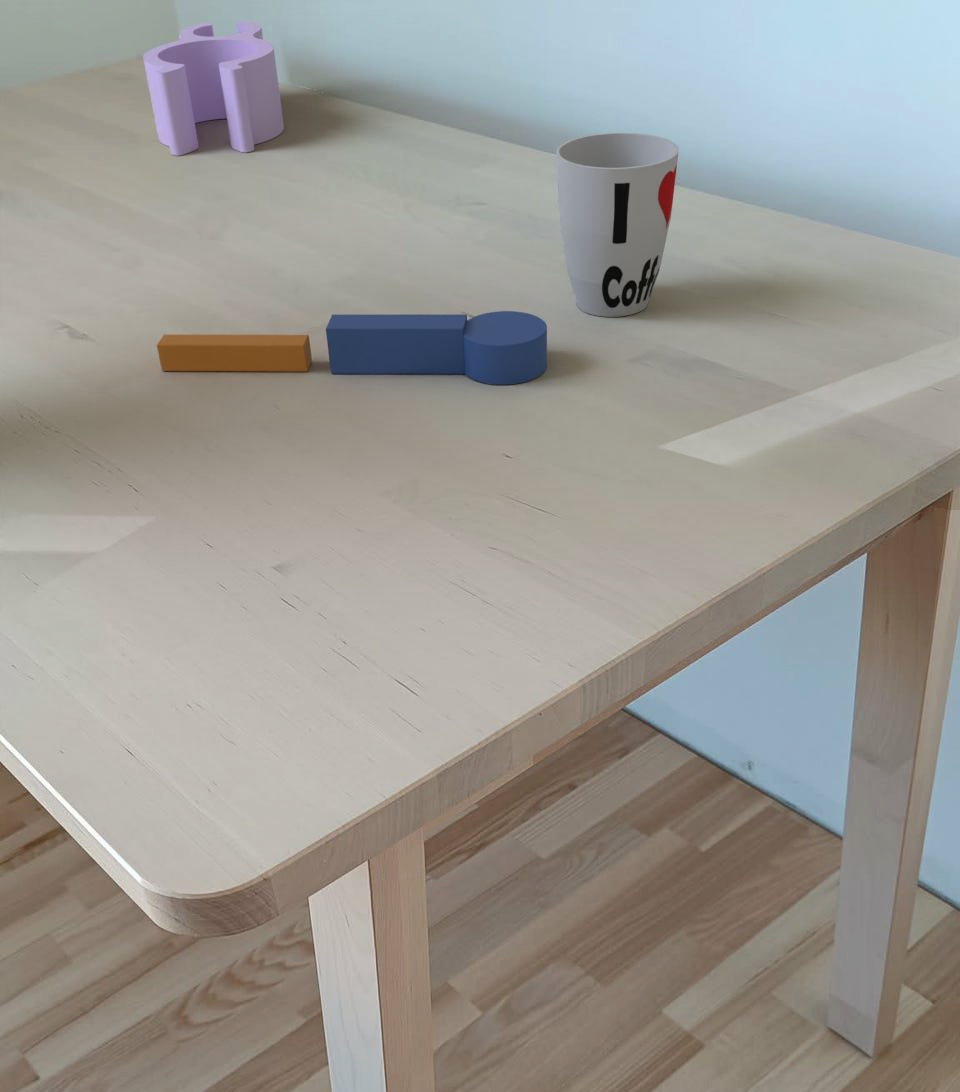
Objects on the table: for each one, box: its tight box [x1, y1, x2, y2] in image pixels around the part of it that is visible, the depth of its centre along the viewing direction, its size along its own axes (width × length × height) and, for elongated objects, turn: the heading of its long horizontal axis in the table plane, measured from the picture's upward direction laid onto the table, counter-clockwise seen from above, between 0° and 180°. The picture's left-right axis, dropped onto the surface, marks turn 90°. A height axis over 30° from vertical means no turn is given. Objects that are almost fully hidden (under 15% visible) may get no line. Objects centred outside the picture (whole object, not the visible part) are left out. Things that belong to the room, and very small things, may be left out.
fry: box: [156, 333, 313, 373], centre depth 85 cm, size 10×2×2 cm, turn 85°
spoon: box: [325, 310, 548, 386], centre depth 84 cm, size 14×6×3 cm, turn 85°
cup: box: [555, 132, 680, 318], centre depth 88 cm, size 8×8×10 cm
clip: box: [142, 20, 285, 157], centre depth 126 cm, size 20×12×7 cm, turn 1°
